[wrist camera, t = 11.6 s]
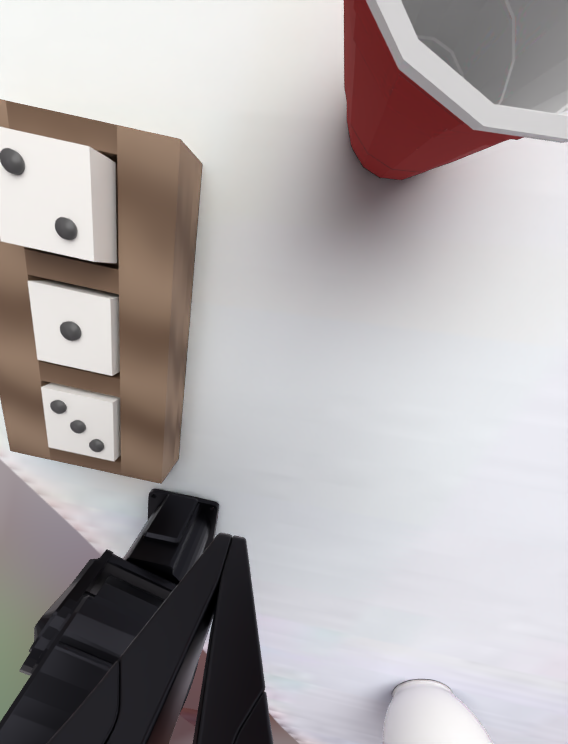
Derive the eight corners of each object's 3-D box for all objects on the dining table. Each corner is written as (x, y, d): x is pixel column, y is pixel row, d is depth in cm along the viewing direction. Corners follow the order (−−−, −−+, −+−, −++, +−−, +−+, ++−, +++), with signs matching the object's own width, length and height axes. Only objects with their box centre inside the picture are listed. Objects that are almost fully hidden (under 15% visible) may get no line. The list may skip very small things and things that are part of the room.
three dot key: (129, 447, 21) (112, 463, 20) (68, 433, 21) (46, 448, 20) (129, 391, 20) (110, 403, 18) (63, 377, 20) (38, 388, 18)
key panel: (178, 458, 23) (161, 483, 21) (45, 430, 23) (10, 450, 21) (202, 163, 16) (180, 138, 13) (6, 120, 16) (-58, 86, 13)
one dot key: (129, 367, 19) (110, 377, 17) (61, 352, 19) (34, 360, 17) (129, 296, 17) (108, 299, 15) (54, 280, 17) (24, 280, 15)
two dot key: (117, 263, 16) (91, 261, 14) (33, 245, 16) (-4, 240, 14) (115, 162, 14) (85, 144, 12) (22, 141, 14) (-23, 120, 12)
